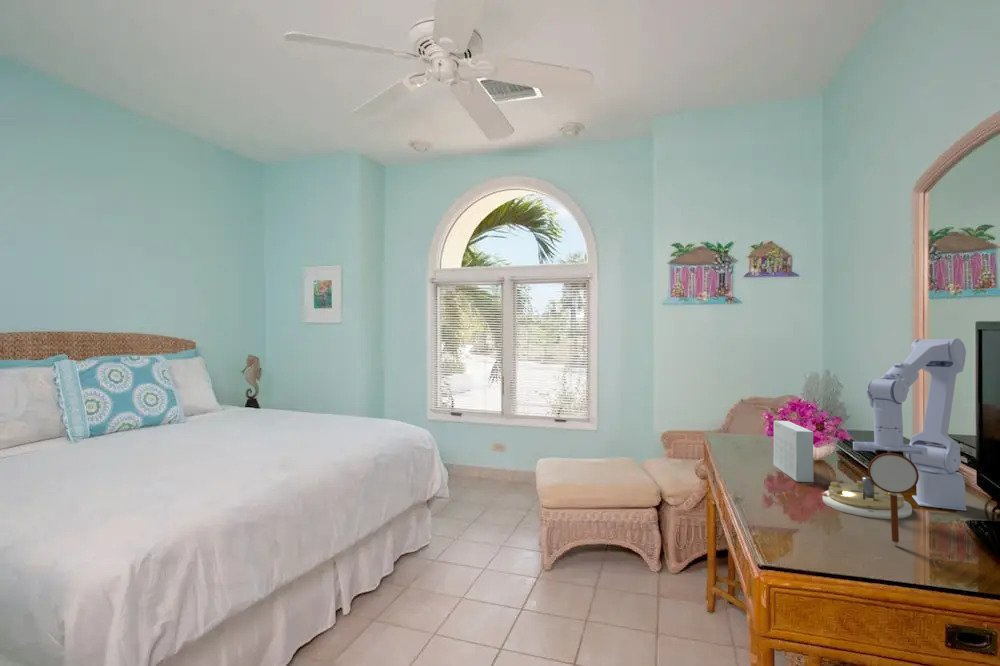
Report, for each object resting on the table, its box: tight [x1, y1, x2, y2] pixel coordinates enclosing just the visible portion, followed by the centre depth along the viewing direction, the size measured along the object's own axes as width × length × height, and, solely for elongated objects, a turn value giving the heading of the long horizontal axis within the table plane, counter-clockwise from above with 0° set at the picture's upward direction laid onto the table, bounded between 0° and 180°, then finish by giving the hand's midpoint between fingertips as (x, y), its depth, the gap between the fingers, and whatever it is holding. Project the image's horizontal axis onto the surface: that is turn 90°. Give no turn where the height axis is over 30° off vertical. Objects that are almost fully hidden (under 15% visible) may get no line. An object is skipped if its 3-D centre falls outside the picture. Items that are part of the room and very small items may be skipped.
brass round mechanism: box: [828, 476, 905, 510], centre depth 130 cm, size 16×16×7 cm
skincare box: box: [772, 420, 814, 483], centre depth 162 cm, size 21×6×16 cm, turn 168°
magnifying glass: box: [867, 453, 919, 547], centre depth 106 cm, size 9×2×20 cm, turn 57°
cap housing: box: [821, 489, 913, 520], centre depth 130 cm, size 19×19×2 cm
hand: (890, 481), depth 122 cm, fingers closed
